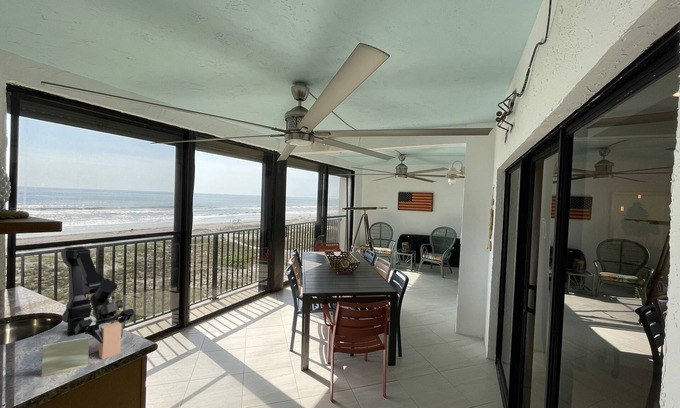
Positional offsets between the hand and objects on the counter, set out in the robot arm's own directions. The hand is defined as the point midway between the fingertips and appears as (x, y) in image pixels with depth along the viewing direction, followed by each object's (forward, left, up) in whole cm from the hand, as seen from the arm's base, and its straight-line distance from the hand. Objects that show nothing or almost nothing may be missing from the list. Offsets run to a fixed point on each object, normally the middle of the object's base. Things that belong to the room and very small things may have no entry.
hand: (112, 339), depth 116 cm
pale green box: (-5, -12, -7) cm, 15 cm away
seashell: (-13, -1, -7) cm, 15 cm away
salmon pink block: (-1, 0, -7) cm, 7 cm away
